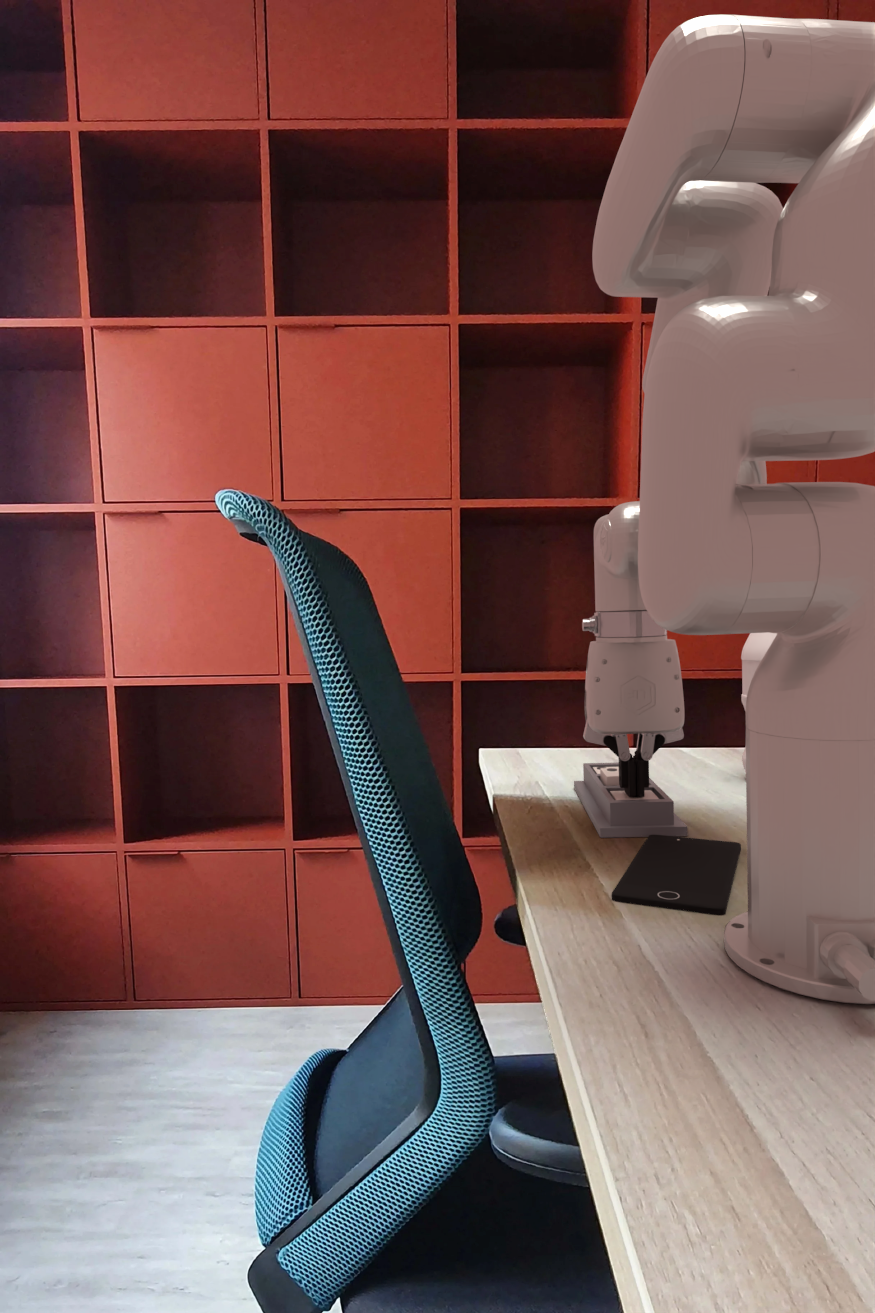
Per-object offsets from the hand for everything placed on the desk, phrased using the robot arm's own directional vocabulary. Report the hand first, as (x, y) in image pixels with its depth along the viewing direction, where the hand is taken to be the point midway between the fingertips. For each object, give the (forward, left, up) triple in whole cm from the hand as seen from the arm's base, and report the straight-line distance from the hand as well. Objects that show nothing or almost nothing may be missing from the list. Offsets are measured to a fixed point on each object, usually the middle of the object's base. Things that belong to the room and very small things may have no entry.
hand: (634, 794), depth 84 cm
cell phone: (-15, -1, -4) cm, 16 cm away
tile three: (+13, 0, -2) cm, 13 cm away
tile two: (+6, 0, -1) cm, 6 cm away
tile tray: (+6, 0, -3) cm, 7 cm away
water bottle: (+19, -22, -4) cm, 30 cm away
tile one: (0, 0, -2) cm, 2 cm away
